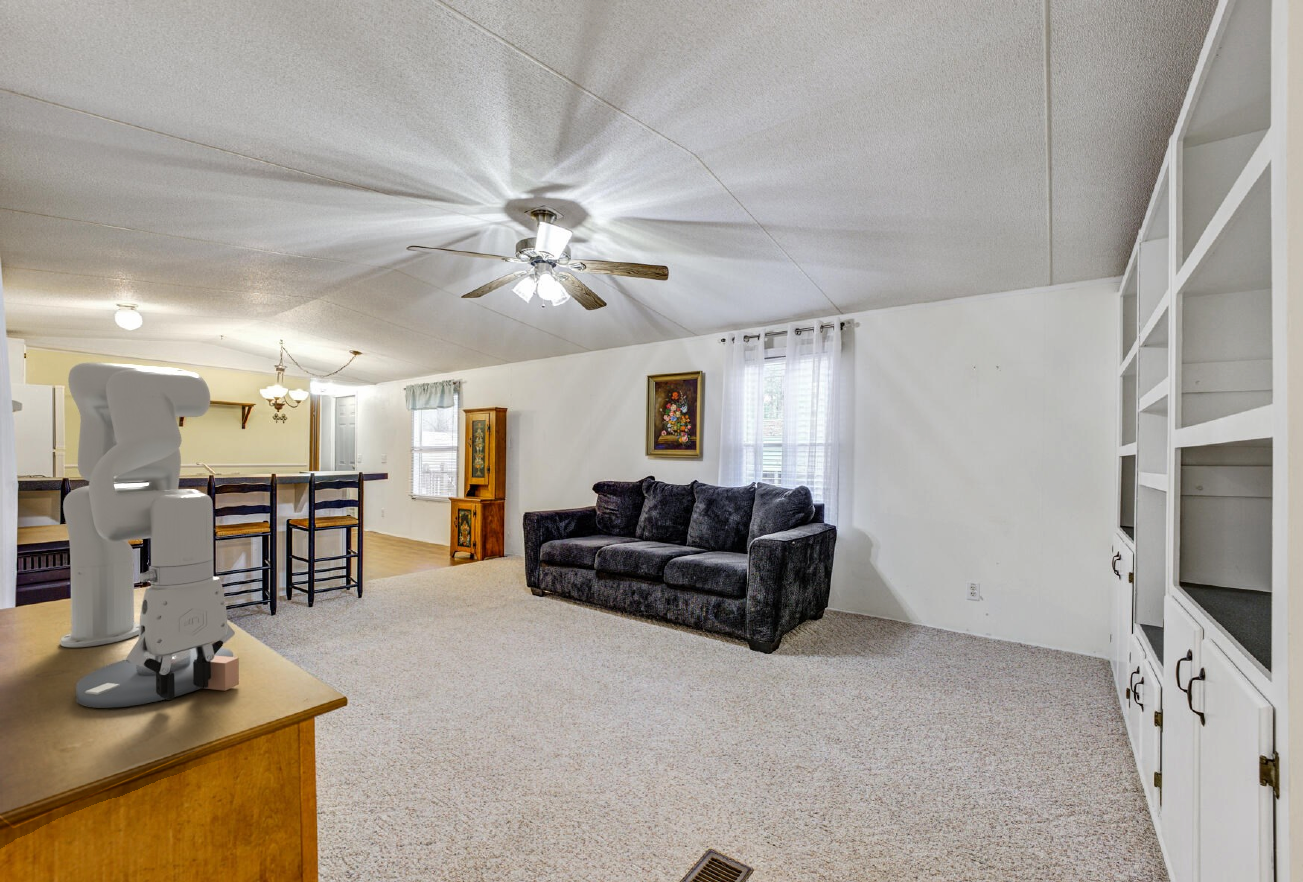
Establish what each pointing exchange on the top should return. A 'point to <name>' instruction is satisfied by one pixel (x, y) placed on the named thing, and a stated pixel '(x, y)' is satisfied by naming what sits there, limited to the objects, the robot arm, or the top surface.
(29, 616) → the top surface
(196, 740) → the top surface
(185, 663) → the cover
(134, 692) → the turntable
